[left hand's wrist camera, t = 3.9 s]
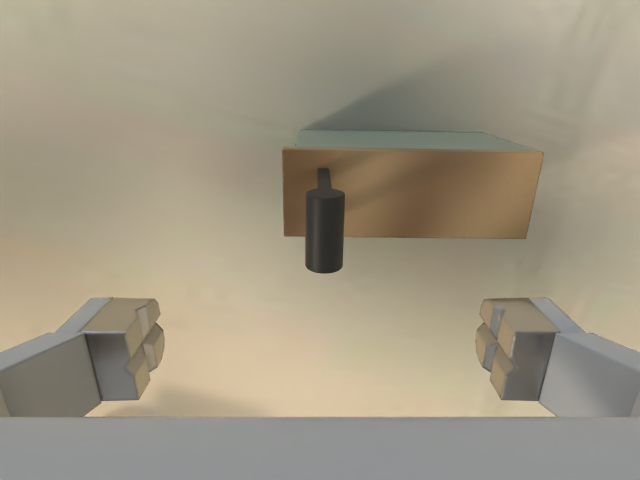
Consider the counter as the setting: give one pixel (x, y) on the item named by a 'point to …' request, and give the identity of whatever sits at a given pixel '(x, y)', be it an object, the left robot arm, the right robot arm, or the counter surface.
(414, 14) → the counter surface
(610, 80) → the counter surface
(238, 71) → the counter surface
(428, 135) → the chest
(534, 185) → the lid
